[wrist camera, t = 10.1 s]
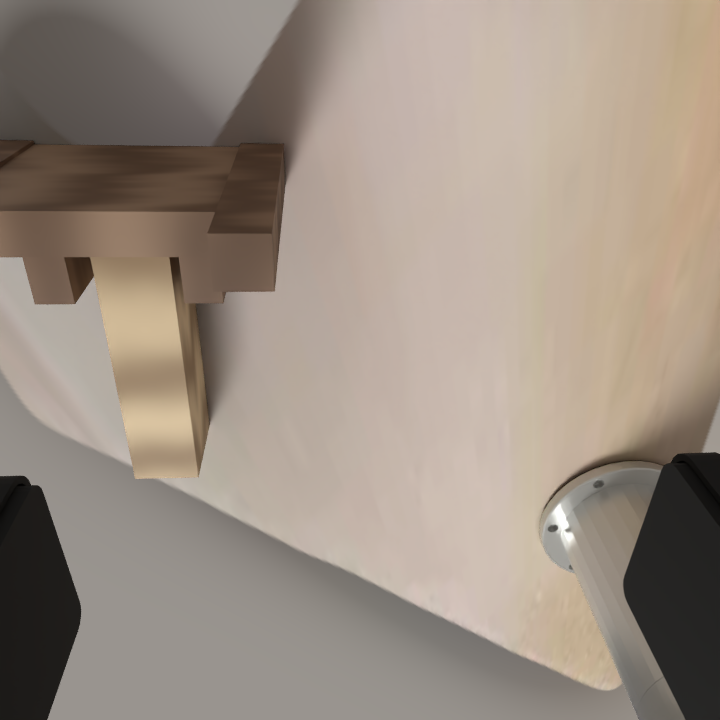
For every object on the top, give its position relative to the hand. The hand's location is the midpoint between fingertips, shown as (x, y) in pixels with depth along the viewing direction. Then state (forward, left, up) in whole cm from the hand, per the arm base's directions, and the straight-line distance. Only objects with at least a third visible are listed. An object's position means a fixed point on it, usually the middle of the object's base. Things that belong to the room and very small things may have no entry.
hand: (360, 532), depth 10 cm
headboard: (+10, +5, -30) cm, 32 cm away
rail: (+10, +13, -30) cm, 34 cm away
